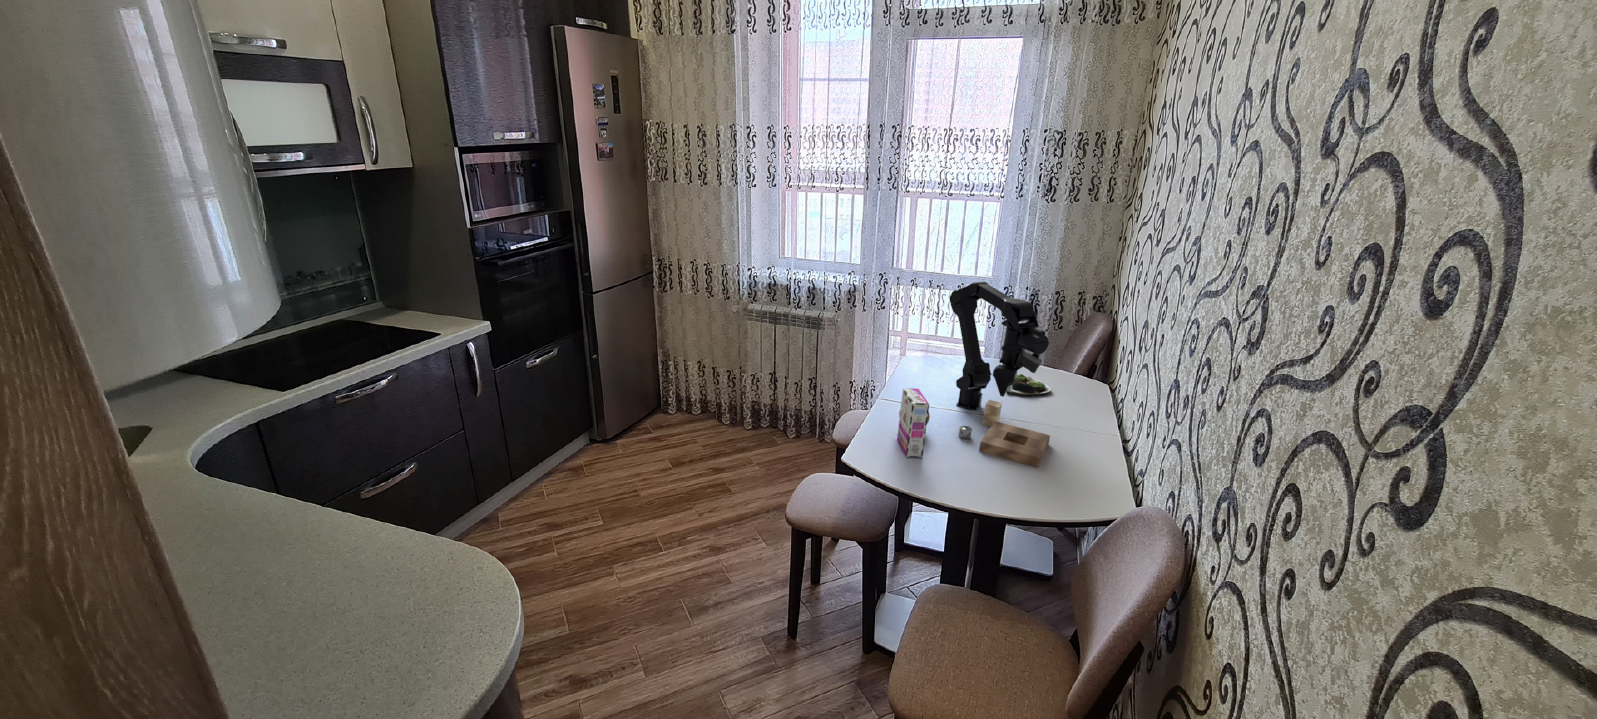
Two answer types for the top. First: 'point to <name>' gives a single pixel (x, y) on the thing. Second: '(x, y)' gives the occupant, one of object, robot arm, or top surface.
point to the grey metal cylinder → (965, 432)
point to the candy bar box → (913, 422)
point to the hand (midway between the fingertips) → (1005, 390)
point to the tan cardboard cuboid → (991, 412)
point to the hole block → (1015, 443)
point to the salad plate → (1028, 387)
